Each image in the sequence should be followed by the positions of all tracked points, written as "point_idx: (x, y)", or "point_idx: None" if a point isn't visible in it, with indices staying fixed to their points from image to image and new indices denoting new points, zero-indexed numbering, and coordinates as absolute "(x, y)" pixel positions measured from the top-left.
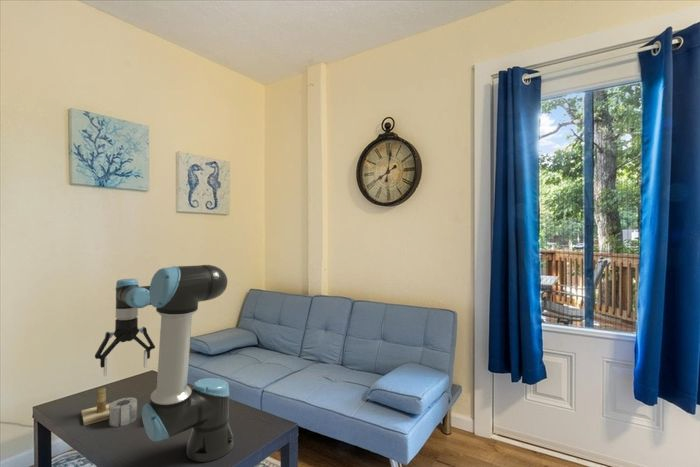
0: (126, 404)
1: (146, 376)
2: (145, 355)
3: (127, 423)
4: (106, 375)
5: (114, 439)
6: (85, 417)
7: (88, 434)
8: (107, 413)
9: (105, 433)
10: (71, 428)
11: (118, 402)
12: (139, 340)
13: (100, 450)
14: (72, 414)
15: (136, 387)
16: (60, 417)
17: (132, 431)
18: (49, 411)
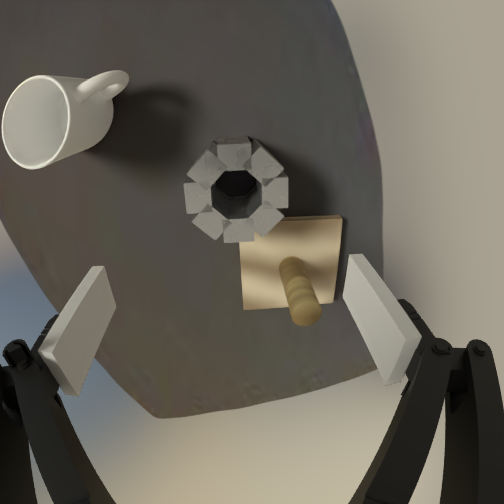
0: (226, 169)
1: (166, 407)
2: (62, 329)
3: (225, 137)
4: (351, 256)
5: (273, 60)
6: (333, 251)
7: (336, 147)
8: (276, 241)
9: (293, 118)
10: (366, 219)
11: (253, 213)
12: (57, 490)
13: (314, 25)
14: None
15: (187, 371)
16: None
17: (217, 77)
18: None
